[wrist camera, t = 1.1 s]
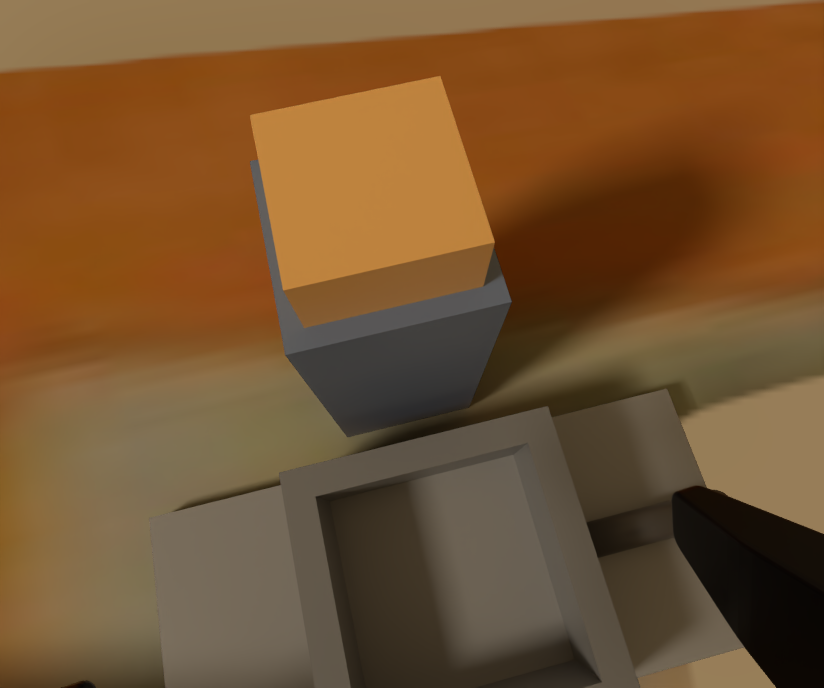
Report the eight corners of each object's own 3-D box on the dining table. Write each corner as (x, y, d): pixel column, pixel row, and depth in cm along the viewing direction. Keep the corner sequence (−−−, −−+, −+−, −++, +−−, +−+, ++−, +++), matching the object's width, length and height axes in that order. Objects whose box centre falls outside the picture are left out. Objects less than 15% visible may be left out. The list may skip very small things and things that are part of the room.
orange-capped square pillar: (468, 407, 23) (528, 259, 10) (347, 437, 22) (259, 321, 10) (437, 296, 24) (456, 53, 12) (323, 322, 24) (221, 101, 12)
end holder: (759, 633, 20) (839, 657, 16) (188, 794, 19) (129, 861, 15) (663, 392, 23) (712, 364, 19) (161, 518, 21) (105, 515, 18)
